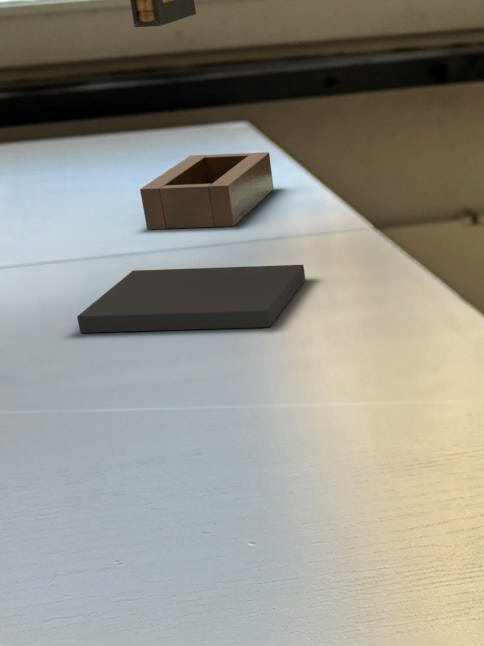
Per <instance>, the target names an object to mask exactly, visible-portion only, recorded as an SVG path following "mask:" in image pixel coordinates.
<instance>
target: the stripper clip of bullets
mask: <svg viewBox="0 0 484 646" xmlns="http://www.w3.org/2000/svg"><path fill="white" fill-rule="evenodd" d="M129 1H130V6H131V7H130V9H131V13H132V21H133V27H134V28H146V27H147V28H148V27H163V26H165V25H168V24H171V23H174V22H177V21H180V20H183V19H186V18H189V17H192V16H195V15H197V10H196V5H195V0H129Z"/></svg>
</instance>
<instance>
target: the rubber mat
mask: <svg viewBox="0 0 484 646" xmlns="http://www.w3.org/2000/svg"><path fill="white" fill-rule="evenodd" d="M305 281H306V273H305V265H304V264H282V265H278V264H277V265H254V266H253V265H252V266H249V265H248V266H226V267H225V266H224V267H223V266H222V267H221V266H220V267H194V268H192V267H191V268H165V269H137V270H135V269H134V270H131V272H129V273H128V274H127V275H125V276H124V277H123V278H121V279H120V280H119V281H118V282H117V283H116V284H115V285H113V286H112V287H111V288H109V289H108V290H107V291H106V292H105V293H104V294H102V295H101V296H100V297H99V298H98V299H96V300H95V301H94V302H93V303H92V304H90V305H89V306H88V307H86V309H85V310H83V311H82V312H80V313H79V314H78V315H77V316H76V318H77V319H76V320H77V323H78V327H79V328H78V329H79V332H80V334H86V333H89V334H90V333H122V332H123V333H124V332H125V333H126V332H153V331H154V332H155V331H184V330H185V331H187V330H188V331H189V330H217V329H218V330H219V329H220V330H221V329H222V330H223V329H224V330H225V329H253V328H255V329H257V328H270V327H271V326H272V324H273V323H274V322H275V320H276V319H277V318H278V317H279V315H280V314H281V312H282V311H283V310H284V309H285V307H286V306H287V304H288V303H289V302H290V300H291V299H292V298H293V297H294V295H295V294H296V293H297V292H298V290H299V289H300V287H301V286H302V285H303V283H304V282H305Z"/></svg>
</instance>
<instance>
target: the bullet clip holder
mask: <svg viewBox="0 0 484 646" xmlns="http://www.w3.org/2000/svg"><path fill="white" fill-rule="evenodd" d="M274 188H275V187H274V180H273V172H272V165H271V156H270V152H268V151H266V152H245V153H243V152H242V153H241V152H240V153H222V154H221V153H219V154H198V155H195V154H194V155H189V156H188V157H186V158H185V159H183V160H181V161H180V162H178V163H177V164H176V165H174V166H172V167H171V168H169V169H168V170H167V171H165V172H164V173H162V174H161V175H158V177H156V178H154V179H153V180H152V181H150V182H149V183H147V184H146V185H143V187H141V188H140V189H139V191H140V198H141V203H142V208H143V214H144V220H145V225H146V229H147V230H167V229H168V230H172V229H197V228H225V227H227V228H228V227H234V226H236V225H237V224H238V223H239V222H240V221H241V220H242V219H244V218H245V216H247V215H248V214H249V213H250V212H251V211H252V210H253V209H254V208H255V207H256V206H258V204H259V203H260V202H261V201H263V200H264V199H265V198H266V197H267V196H268V195H269V194H270V193H271V192H272V191H273V190H274Z"/></svg>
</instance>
